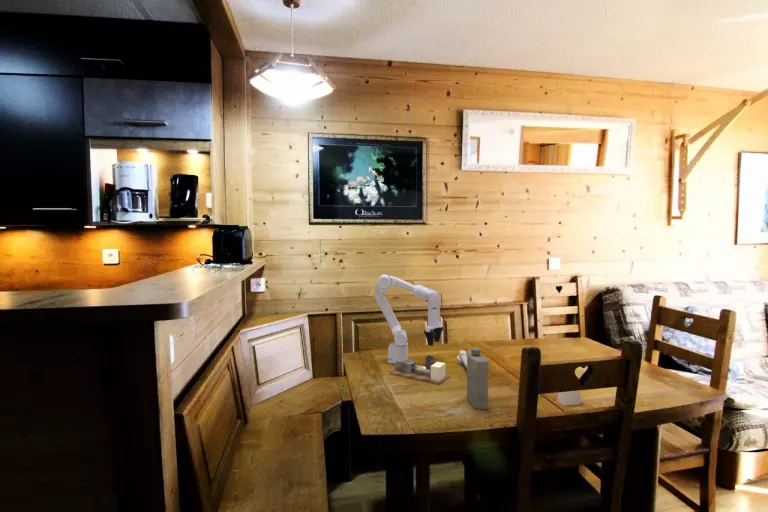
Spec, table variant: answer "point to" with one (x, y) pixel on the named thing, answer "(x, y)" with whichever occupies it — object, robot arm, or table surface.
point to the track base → (413, 372)
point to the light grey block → (569, 398)
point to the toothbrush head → (462, 358)
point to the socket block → (438, 371)
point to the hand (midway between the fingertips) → (433, 343)
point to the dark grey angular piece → (424, 369)
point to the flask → (477, 379)
